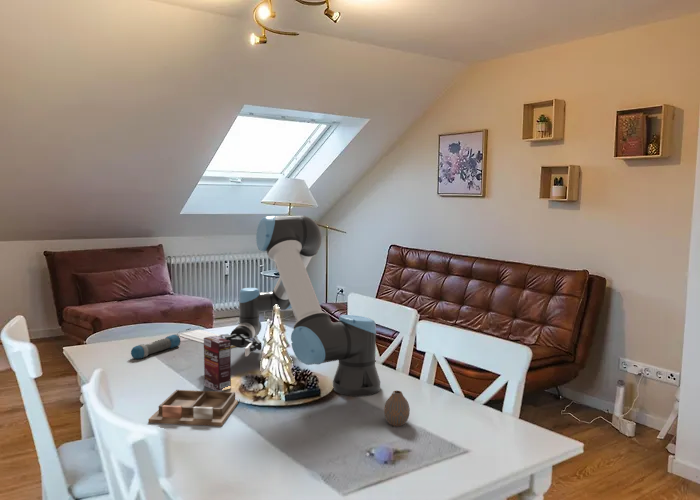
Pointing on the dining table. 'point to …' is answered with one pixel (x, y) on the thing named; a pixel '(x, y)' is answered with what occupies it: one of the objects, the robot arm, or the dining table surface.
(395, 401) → the vase
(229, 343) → the supplement box
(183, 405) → the organiser board
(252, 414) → the dining table surface
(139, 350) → the grey and blue cylinder
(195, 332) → the baseboard molding
